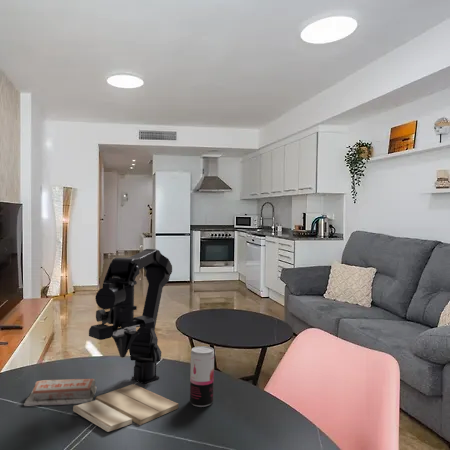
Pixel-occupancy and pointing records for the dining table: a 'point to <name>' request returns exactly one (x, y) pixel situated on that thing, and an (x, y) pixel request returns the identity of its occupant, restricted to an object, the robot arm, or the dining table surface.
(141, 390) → the laid floor
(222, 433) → the dining table surface
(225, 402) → the dining table surface
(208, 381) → the beverage can
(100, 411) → the plank
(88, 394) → the packaged product
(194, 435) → the dining table surface
